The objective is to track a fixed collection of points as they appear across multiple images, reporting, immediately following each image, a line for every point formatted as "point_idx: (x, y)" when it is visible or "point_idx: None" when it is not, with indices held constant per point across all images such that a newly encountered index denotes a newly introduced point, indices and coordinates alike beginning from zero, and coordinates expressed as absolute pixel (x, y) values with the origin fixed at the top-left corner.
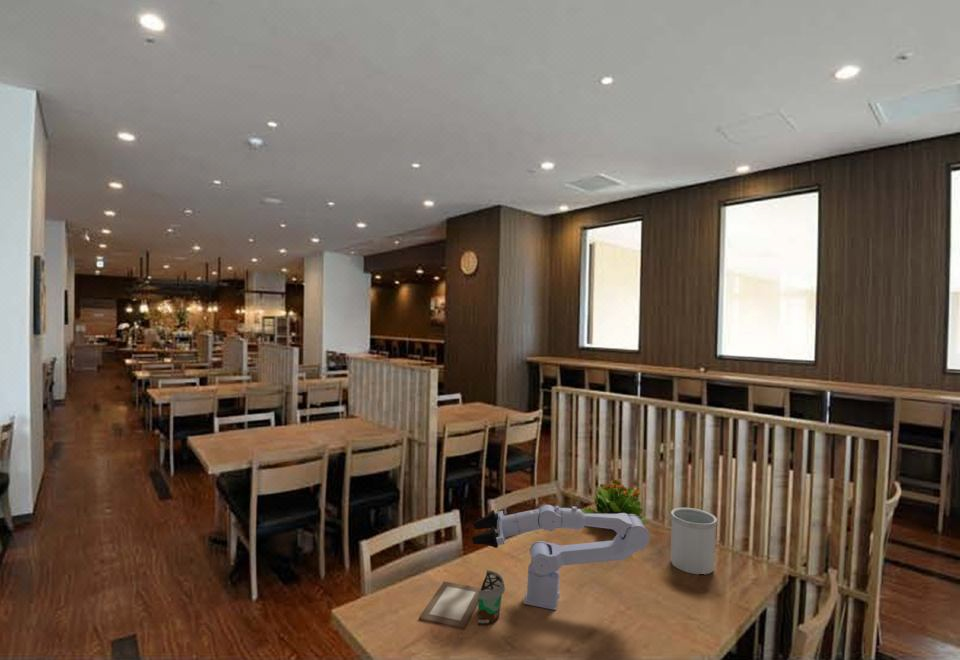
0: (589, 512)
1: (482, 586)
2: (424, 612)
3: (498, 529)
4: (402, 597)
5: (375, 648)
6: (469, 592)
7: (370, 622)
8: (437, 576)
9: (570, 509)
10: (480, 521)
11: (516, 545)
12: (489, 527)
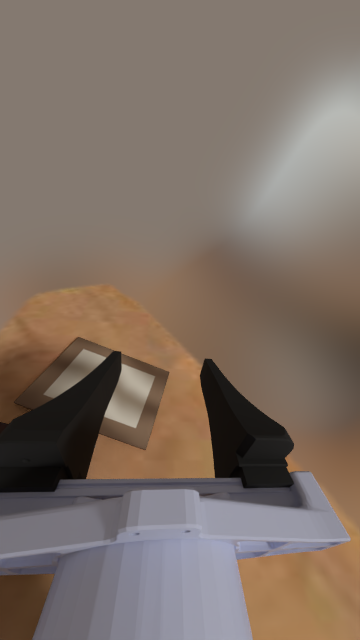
0: None
1: (4, 426)
2: (89, 343)
3: (115, 494)
4: (135, 326)
5: (36, 298)
6: (135, 414)
7: (91, 299)
8: (185, 366)
9: None
10: (212, 379)
11: (354, 555)
12: (212, 432)
